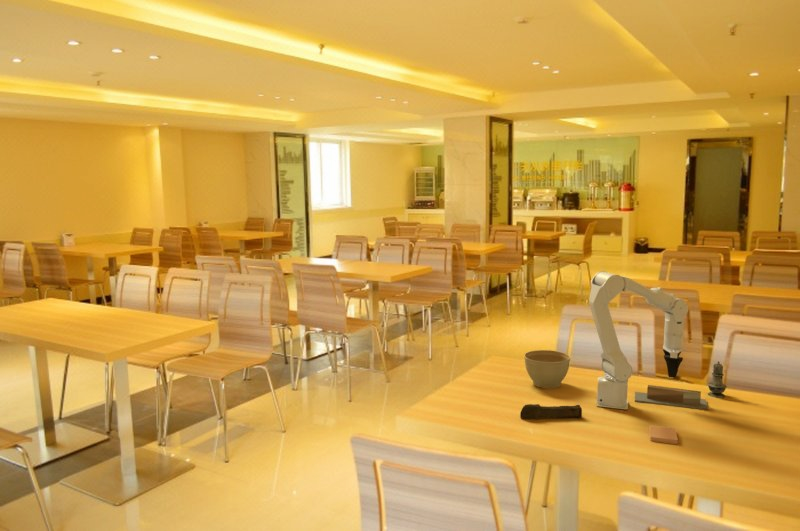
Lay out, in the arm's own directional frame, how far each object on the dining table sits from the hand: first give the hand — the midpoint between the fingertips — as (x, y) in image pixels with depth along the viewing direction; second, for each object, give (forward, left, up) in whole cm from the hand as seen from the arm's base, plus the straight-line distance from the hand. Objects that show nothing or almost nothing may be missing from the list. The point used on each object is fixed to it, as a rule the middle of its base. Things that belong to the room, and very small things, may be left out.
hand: (671, 373), depth 202 cm
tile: (-3, -28, -9) cm, 29 cm away
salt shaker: (+15, +12, -10) cm, 21 cm away
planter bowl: (-41, +3, -10) cm, 42 cm away
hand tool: (-35, -29, -10) cm, 47 cm away
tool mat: (0, 0, -9) cm, 9 cm away
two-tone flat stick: (+1, -1, -9) cm, 9 cm away
